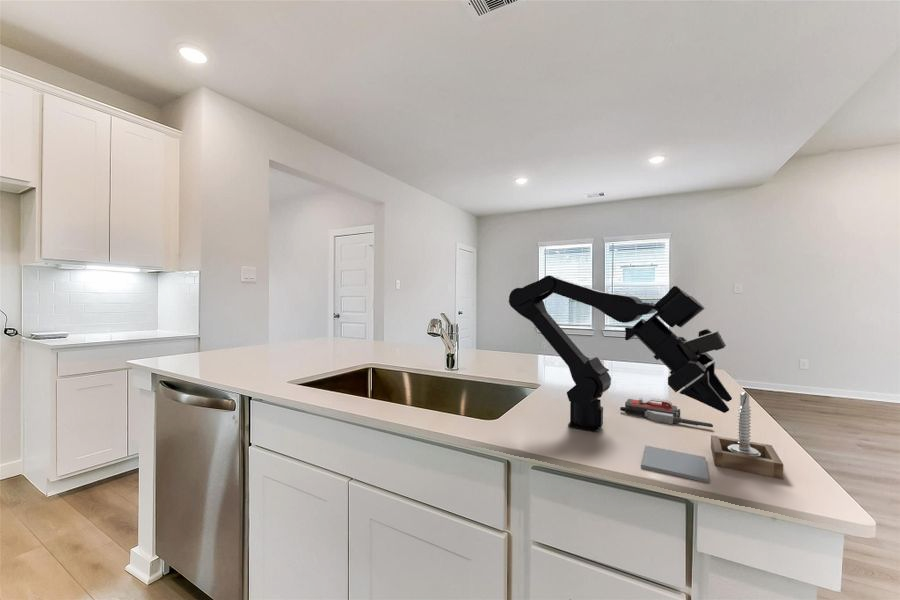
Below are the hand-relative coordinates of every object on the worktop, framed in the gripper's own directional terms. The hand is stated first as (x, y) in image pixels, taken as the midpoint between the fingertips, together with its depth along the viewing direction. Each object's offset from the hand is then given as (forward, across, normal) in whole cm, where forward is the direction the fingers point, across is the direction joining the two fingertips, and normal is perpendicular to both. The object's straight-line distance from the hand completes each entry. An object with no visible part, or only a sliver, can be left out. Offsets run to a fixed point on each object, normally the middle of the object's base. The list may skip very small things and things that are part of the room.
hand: (728, 405), depth 70 cm
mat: (+2, -10, +12) cm, 16 cm away
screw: (+9, 0, +6) cm, 10 cm away
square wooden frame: (+9, 0, +6) cm, 10 cm away
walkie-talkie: (-2, +19, +17) cm, 26 cm away
